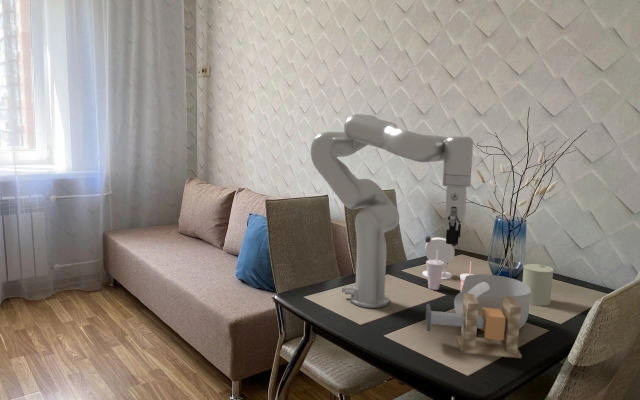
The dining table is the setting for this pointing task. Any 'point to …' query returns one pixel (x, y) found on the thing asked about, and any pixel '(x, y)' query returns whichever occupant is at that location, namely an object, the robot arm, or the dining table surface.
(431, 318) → the shaft
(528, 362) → the dining table surface
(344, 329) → the dining table surface
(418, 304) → the dining table surface
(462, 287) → the beverage cup
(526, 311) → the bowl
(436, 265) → the smoothie
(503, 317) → the block
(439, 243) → the panda figurine
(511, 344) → the bracket
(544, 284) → the can
